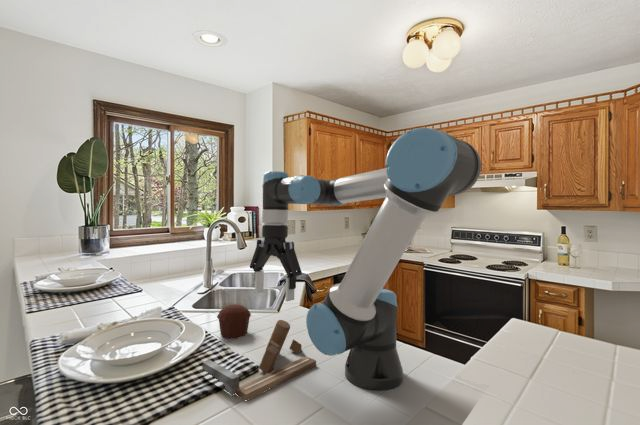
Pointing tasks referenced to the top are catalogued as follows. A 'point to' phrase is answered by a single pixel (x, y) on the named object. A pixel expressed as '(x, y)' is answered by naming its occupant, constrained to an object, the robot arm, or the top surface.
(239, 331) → the muffin
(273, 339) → the wooden block set
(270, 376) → the board
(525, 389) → the top surface
